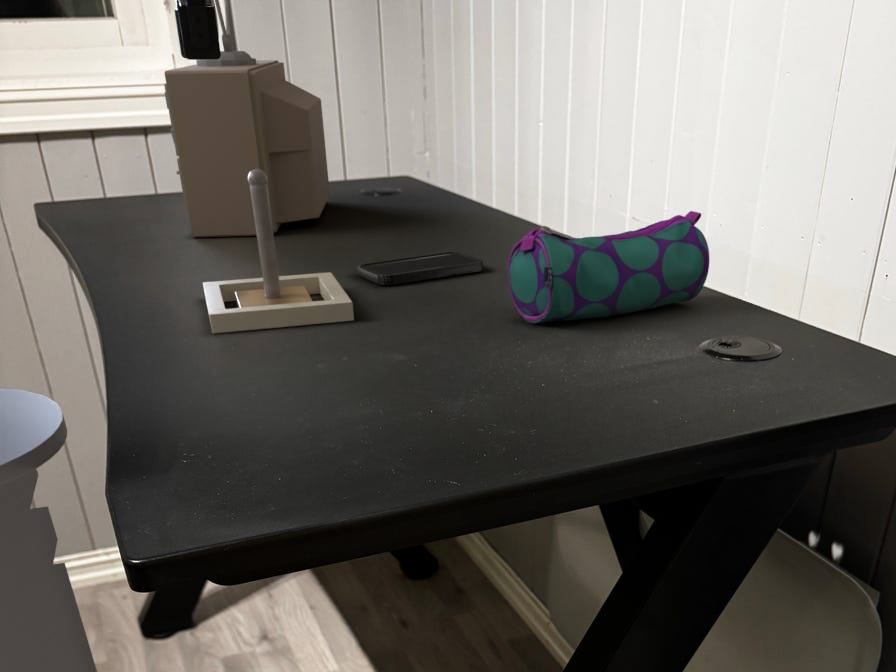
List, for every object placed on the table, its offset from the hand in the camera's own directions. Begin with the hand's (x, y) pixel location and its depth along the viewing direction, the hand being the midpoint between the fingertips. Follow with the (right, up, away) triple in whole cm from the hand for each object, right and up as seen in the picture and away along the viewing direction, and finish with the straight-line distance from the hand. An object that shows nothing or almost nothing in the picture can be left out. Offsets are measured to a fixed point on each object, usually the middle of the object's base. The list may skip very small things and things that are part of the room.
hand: (200, 58), depth 89 cm
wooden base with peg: (+3, -18, +17) cm, 25 cm away
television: (-10, +16, +69) cm, 72 cm away
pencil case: (+41, -20, +14) cm, 47 cm away
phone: (+19, -8, +32) cm, 38 cm away
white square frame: (+3, -18, +17) cm, 25 cm away
